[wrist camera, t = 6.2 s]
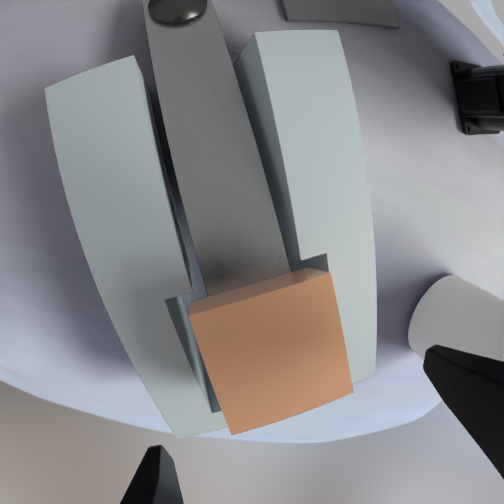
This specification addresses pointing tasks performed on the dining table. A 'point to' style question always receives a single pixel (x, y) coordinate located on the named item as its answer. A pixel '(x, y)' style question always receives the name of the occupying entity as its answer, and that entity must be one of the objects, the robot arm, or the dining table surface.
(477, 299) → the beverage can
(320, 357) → the tile
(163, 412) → the grey-green channel block
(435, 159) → the dining table surface
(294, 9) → the pad
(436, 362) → the robot arm
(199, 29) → the lever
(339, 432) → the dining table surface
